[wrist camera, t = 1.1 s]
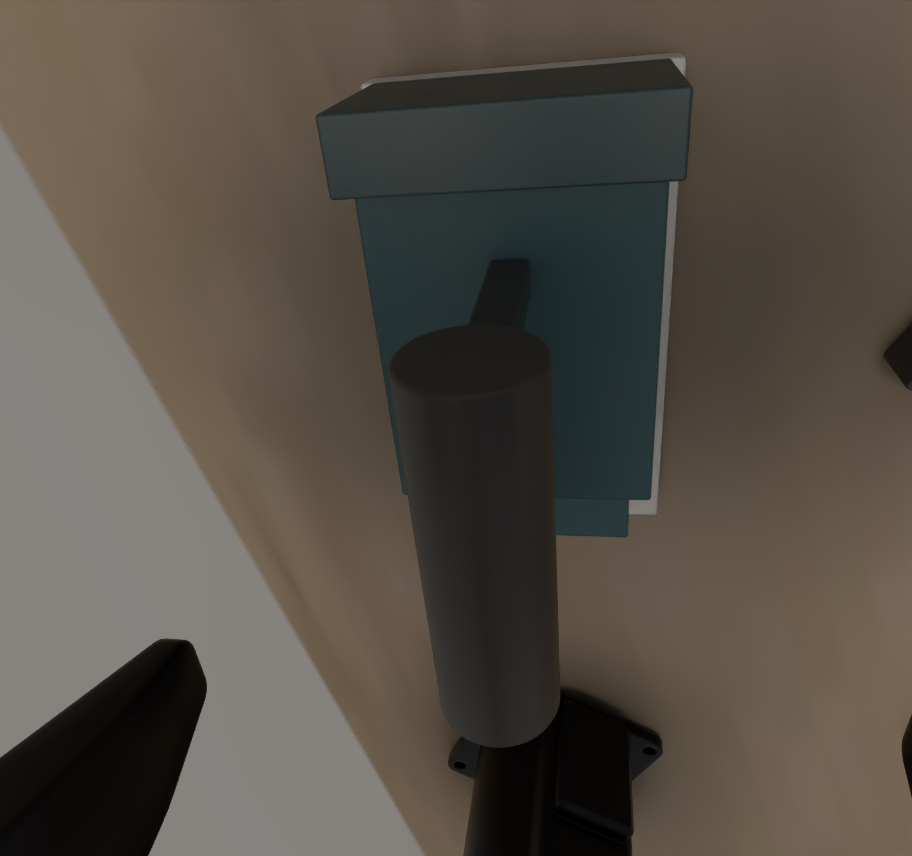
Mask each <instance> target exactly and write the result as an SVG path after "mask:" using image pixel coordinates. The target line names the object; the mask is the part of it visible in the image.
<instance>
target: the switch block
mask: <svg viewBox="0 0 912 856" xmlns="http://www.w3.org/2000/svg"><path fill="white" fill-rule="evenodd" d="M884 358H885V359H886V360H887V362H888V363H889V365H890V366H891V367H892V369H893V370H894V371H895V373H896V374H897V376H898V377H899V378H900V380H901V381H902V382H903V384H904V385H905V387H906V388H908V389H910V390H912V325H911V327H910V328H909V329H908V330H907V331H906V332H905V333H904V334H903V335H902V336H901V337H900V338H899V339H898V341H897V342H896V343H895V344H894V345H893V346H892V347H891V348H890V349H889V350H888V351H887V352H886V353H885V355H884Z"/></svg>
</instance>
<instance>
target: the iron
mask: <svg viewBox="0 0 912 856" xmlns="http://www.w3.org/2000/svg"><path fill="white" fill-rule="evenodd" d="M685 73H686V58H685V57H684V56H683V55H682V54H681V53H679V52H675V53H663V54H651V55H640V56H628V57H616V58H604V59H593V60H581V61H569V62H558V63H546V64H534V65H522V66H511V67H499V68H487V69H476V70H464V71H452V72H440V73H429V74H417V75H405V76H394V77H382V78H373V79H371V80H369V81H367V82H365V83H363V84H362V85H361V91H359V92H357V93H355V94H353V95H352V96H350V97H348V98H346V99H344V100H343V101H341V102H339V103H337V104H335V105H334V106H332V107H330V108H328V109H326V110H325V111H323V112H321V113H319V114H318V115H316V122H317V128H318V133H319V139H320V144H321V150H322V155H323V161H324V166H325V172H326V177H327V183H328V188H329V194H330V198H331V199H332V200H342V199H355V204H356V210H357V216H358V222H359V228H360V234H361V241H362V247H363V253H364V259H365V265H366V271H367V277H368V283H369V289H370V295H371V302H372V308H373V314H374V320H375V326H376V332H377V338H378V344H379V350H380V356H381V363H382V369H383V375H384V381H385V387H386V393H387V399H388V405H389V411H390V417H391V424H392V430H393V436H394V442H395V448H396V454H397V460H398V466H399V472H400V478H401V485H402V491H403V494H405V495H408V500H409V506H410V512H411V519H412V525H413V531H414V537H415V544H416V550H417V556H418V562H419V569H420V575H421V581H422V587H423V594H424V600H425V606H426V612H427V619H428V625H429V631H430V637H431V644H432V650H433V656H434V662H435V669H436V675H437V681H438V687H439V694H440V700H441V706H442V710H443V713H444V715H445V717H446V719H447V721H448V722H449V724H450V725H451V726H452V727H453V729H454V730H455V731H456V732H458V733H459V734H460V735H461V736H463V737H464V738H466V739H467V740H469V741H471V742H474V743H476V744H479V745H482V746H487V747H494V748H504V747H512V746H517V745H520V744H523V743H526V742H528V741H530V740H532V739H534V738H535V737H537V736H538V735H540V734H541V733H542V732H543V731H544V730H545V729H546V728H547V727H548V726H549V725H550V723H551V722H552V720H553V719H554V717H555V715H556V713H557V711H558V708H559V704H560V668H559V632H558V596H557V561H556V535H572V536H603V537H627V536H628V518H629V514H639V515H655V514H656V513H657V505H658V490H659V474H660V459H661V443H662V428H663V413H664V397H665V382H666V366H667V351H668V336H669V320H670V305H671V289H672V274H673V258H674V243H675V228H676V212H677V197H678V181H684V180H686V178H687V165H688V151H689V137H690V123H691V108H692V94H693V88H692V86H691V85H690V83H689V82H688V81H687V79H686V78H685Z"/></svg>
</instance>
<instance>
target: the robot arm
mask: <svg viewBox="0 0 912 856" xmlns="http://www.w3.org/2000/svg"><path fill="white" fill-rule="evenodd" d="M206 692H207V683H206V678H205V675H204V672H203V670H202V667H201V664H200V662H199V659H198V657H197V654H196V651H195V649H194V647H193V645H192V644H191V643H190V642H189V641H187V640H178V639H160V640H158V641H156V642H154V643H153V644H152V645H150V646H149V647H148V648H146V649H145V650H144V651H142V652H141V653H140V654H138V655H137V656H136V657H134V658H133V659H132V660H130V661H129V662H128V663H126V664H125V665H124V666H122V667H121V668H119V669H118V670H117V671H116V672H114V673H113V674H111V675H110V676H109V677H107V678H106V679H105V680H103V681H102V682H101V683H99V684H98V685H97V686H96V687H94V688H93V689H91V690H90V691H89V692H88V693H86V694H85V695H84V696H82V697H81V698H79V700H77V701H75V702H74V703H73V704H72V705H70V706H69V707H67V708H66V709H65V710H63V711H62V712H61V713H60V714H58V715H57V716H55V717H54V718H53V719H51V720H50V721H49V722H47V723H46V724H45V725H43V726H42V727H41V728H40V729H38V730H37V731H35V732H34V733H33V734H31V735H30V736H29V737H27V738H26V739H25V740H23V741H22V742H21V743H19V744H18V745H17V746H15V747H14V748H13V749H11V750H10V751H9V752H7V753H6V754H5V755H3V756H2V757H1V758H0V856H148V855H149V853H150V851H151V848H152V846H153V844H154V841H155V839H156V837H157V835H158V832H159V830H160V828H161V825H162V823H163V821H164V818H165V816H166V813H167V811H168V809H169V806H170V803H171V800H172V798H173V795H174V792H175V789H176V786H177V783H178V780H179V776H180V774H181V771H182V768H183V765H184V762H185V758H186V756H187V753H188V749H189V747H190V743H191V740H192V737H193V734H194V731H195V728H196V725H197V722H198V719H199V716H200V713H201V710H202V707H203V704H204V701H205V697H206ZM662 754H663V750H662V741H661V739H660V738H659V737H658V736H656V735H654V734H652V733H649V732H647V731H645V730H643V729H640V728H638V727H636V726H634V725H631V724H629V723H627V722H625V721H622V720H620V719H618V718H616V717H613V716H611V715H609V714H607V713H604V712H602V711H600V710H598V709H595V708H593V707H591V706H589V705H586V704H584V703H582V702H580V701H577V700H575V699H573V698H571V697H568V696H566V695H564V694H562V693H560V704H559V708H558V711H557V713H556V715H555V717H554V719H553V720H552V722H551V723H550V725H549V726H548V727H547V728H546V729H545V730H544V731H543V732H542V733H541V734H540V735H538V736H537V737H535V738H534V739H532V740H530V741H528V742H526V743H523V744H520V745H517V746H512V747H504V748H494V747H487V746H482V745H479V744H476V743H474V742H471V741H469V740H467V739H466V738H464V737H463V738H462V739H461V740H460V741H459V743H458V744H457V745H456V746H455V747H454V749H453V750H452V751H451V752H450V755H449V761H448V765H449V767H450V768H451V769H452V770H454V771H456V772H458V773H461V774H463V775H465V776H468V777H470V778H472V779H475V781H474V788H473V794H472V801H471V808H470V815H469V821H468V828H467V835H466V842H465V848H464V855H463V856H632V839H631V836H632V835H633V832H634V825H633V803H632V781H633V780H634V779H635V778H636V777H637V776H638V775H639V774H641V773H642V772H643V771H644V770H645V769H646V768H648V767H649V766H650V765H651V764H652V763H653V762H655V761H656V760H657V759H658V758H659V757H660V756H661V755H662ZM902 757H903V762H904V767H905V771H906V775H907V779H908V784H909V788H910V792H911V796H912V715H911V717H910V720H909V723H908V725H907V728H906V731H905V733H904V736H903V740H902Z"/></svg>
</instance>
